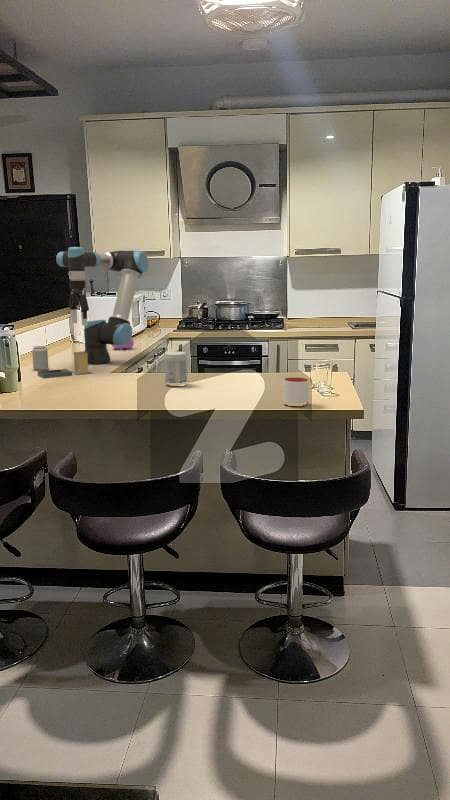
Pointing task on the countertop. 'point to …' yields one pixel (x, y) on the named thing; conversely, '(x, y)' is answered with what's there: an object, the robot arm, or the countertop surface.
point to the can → (40, 358)
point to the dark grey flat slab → (54, 373)
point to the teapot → (128, 345)
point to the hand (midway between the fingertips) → (79, 324)
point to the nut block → (81, 362)
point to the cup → (295, 390)
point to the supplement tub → (175, 367)
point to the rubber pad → (81, 373)
